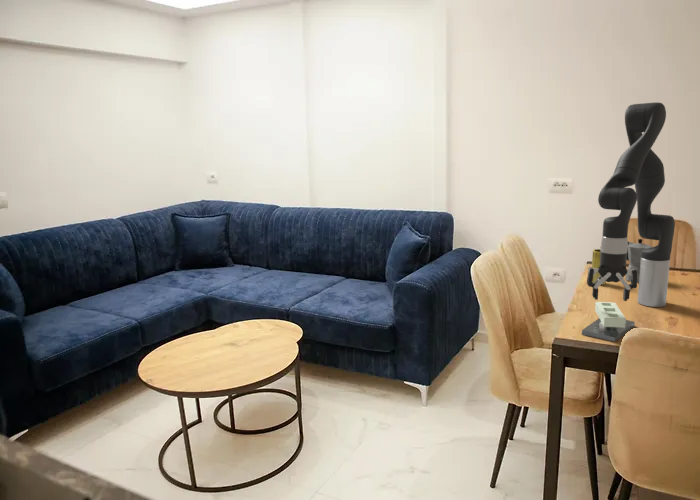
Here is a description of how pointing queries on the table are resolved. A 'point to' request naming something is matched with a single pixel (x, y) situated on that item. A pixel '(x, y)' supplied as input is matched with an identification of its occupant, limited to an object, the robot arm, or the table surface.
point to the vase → (596, 264)
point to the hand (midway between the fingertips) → (610, 299)
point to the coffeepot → (635, 257)
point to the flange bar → (610, 314)
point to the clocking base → (607, 330)
